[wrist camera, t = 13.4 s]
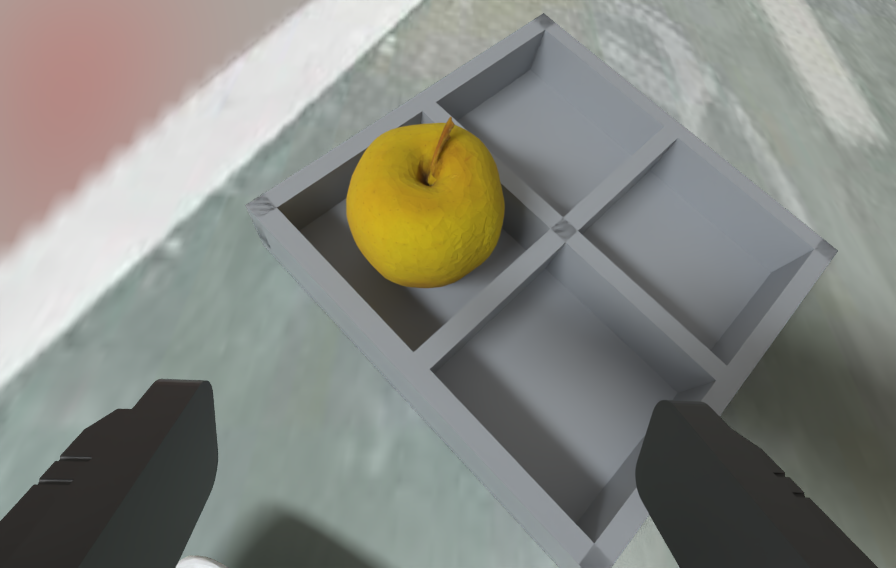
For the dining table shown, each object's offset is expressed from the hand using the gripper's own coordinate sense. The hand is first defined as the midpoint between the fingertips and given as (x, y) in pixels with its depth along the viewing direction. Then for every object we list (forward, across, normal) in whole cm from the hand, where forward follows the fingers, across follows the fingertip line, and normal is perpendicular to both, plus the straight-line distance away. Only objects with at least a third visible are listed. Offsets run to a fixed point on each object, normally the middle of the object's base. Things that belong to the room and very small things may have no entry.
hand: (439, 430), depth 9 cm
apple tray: (+16, -7, +2) cm, 18 cm away
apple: (+15, 0, +2) cm, 16 cm away
